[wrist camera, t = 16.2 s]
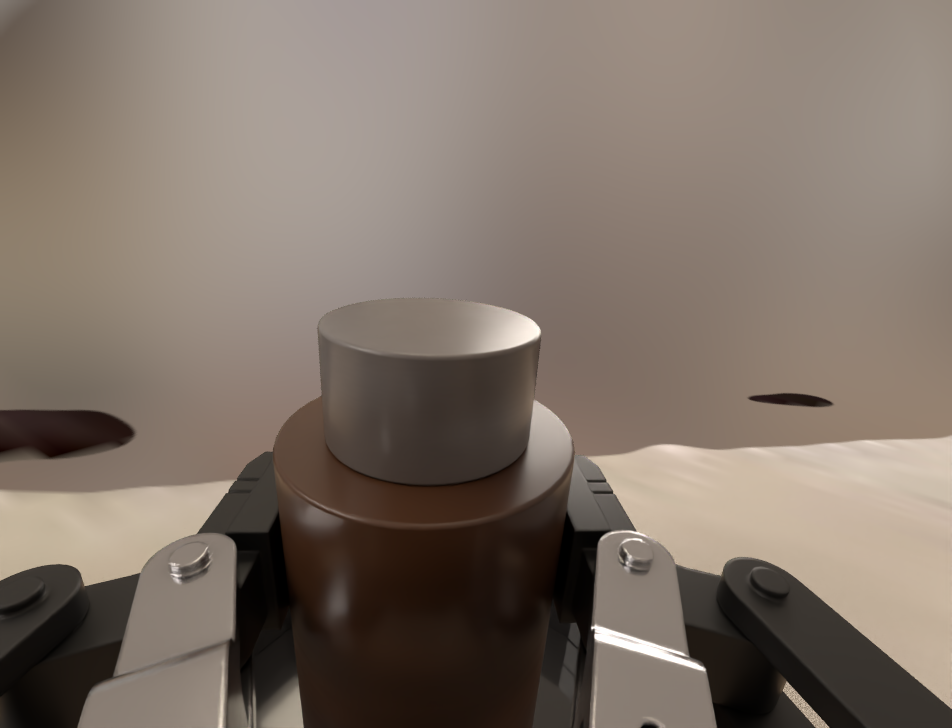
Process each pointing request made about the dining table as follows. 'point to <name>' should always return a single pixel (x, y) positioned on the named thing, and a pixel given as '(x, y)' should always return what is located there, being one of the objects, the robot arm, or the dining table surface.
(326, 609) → the pepper mill
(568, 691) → the pan
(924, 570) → the dining table surface
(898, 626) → the dining table surface
